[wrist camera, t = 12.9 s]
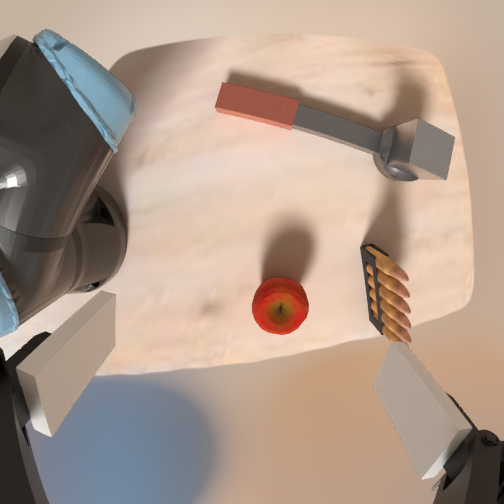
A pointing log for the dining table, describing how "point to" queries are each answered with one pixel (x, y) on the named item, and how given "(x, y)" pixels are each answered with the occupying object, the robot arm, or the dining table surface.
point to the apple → (280, 305)
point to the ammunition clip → (386, 294)
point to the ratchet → (309, 123)
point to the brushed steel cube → (421, 150)
